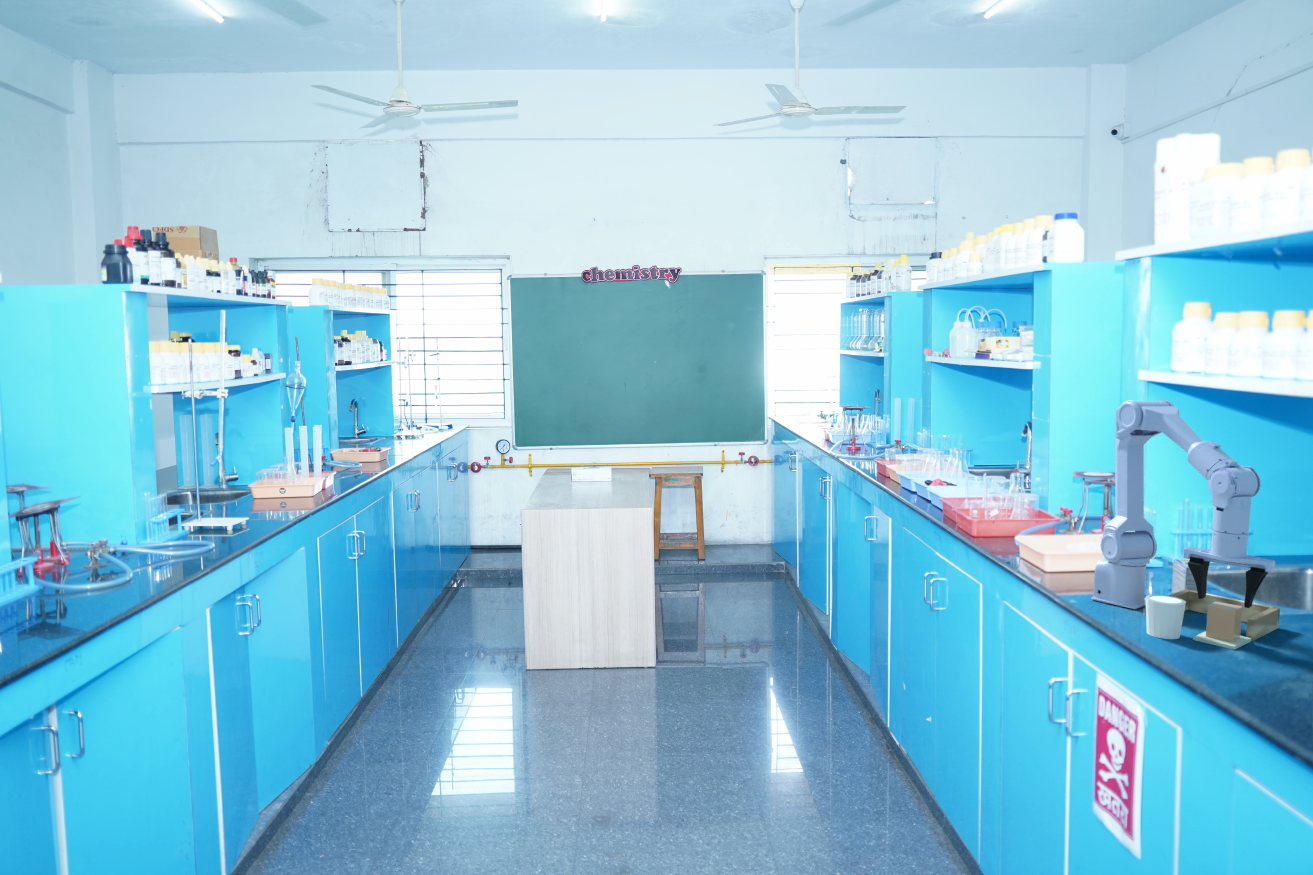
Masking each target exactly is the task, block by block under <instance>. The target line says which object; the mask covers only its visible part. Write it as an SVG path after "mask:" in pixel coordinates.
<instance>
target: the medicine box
mask: <svg viewBox="0 0 1313 875" xmlns="http://www.w3.org/2000/svg"><path fill="white" fill-rule="evenodd" d="M1189 560H1190V559H1186V558H1175V559H1173V564H1172V565H1173V566H1172V578H1171V579H1172V581H1171V594H1174V593H1176V592H1179V591H1182V590H1184V589H1188V590H1193V591H1197V587H1196V583H1195V580H1194V577H1193V575H1192V573H1191V571H1190V569H1189V567H1188V562H1189ZM1208 575H1209V573H1208V574H1207V581H1208V578H1209V576H1208ZM1206 593H1207V594H1208V586H1207V587H1206Z"/></svg>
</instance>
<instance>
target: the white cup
mask: <svg viewBox="0 0 1313 875" xmlns="http://www.w3.org/2000/svg"><path fill="white" fill-rule="evenodd" d="M1144 600H1146V606H1145V619H1146V621H1145V624H1146V634H1147V635H1149V636H1150V637H1151V636H1152V637H1155V638H1158V639H1163V640H1177V639H1180V637H1181V633H1182V632H1181V631H1182V626H1183V620H1184V615H1185V611H1184V610H1185V604H1186V601H1184V600H1182V599H1179V598H1176V597H1171V596H1169V595H1165V594H1164V595H1163V594H1148V595H1146V596H1145V597H1144Z"/></svg>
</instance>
